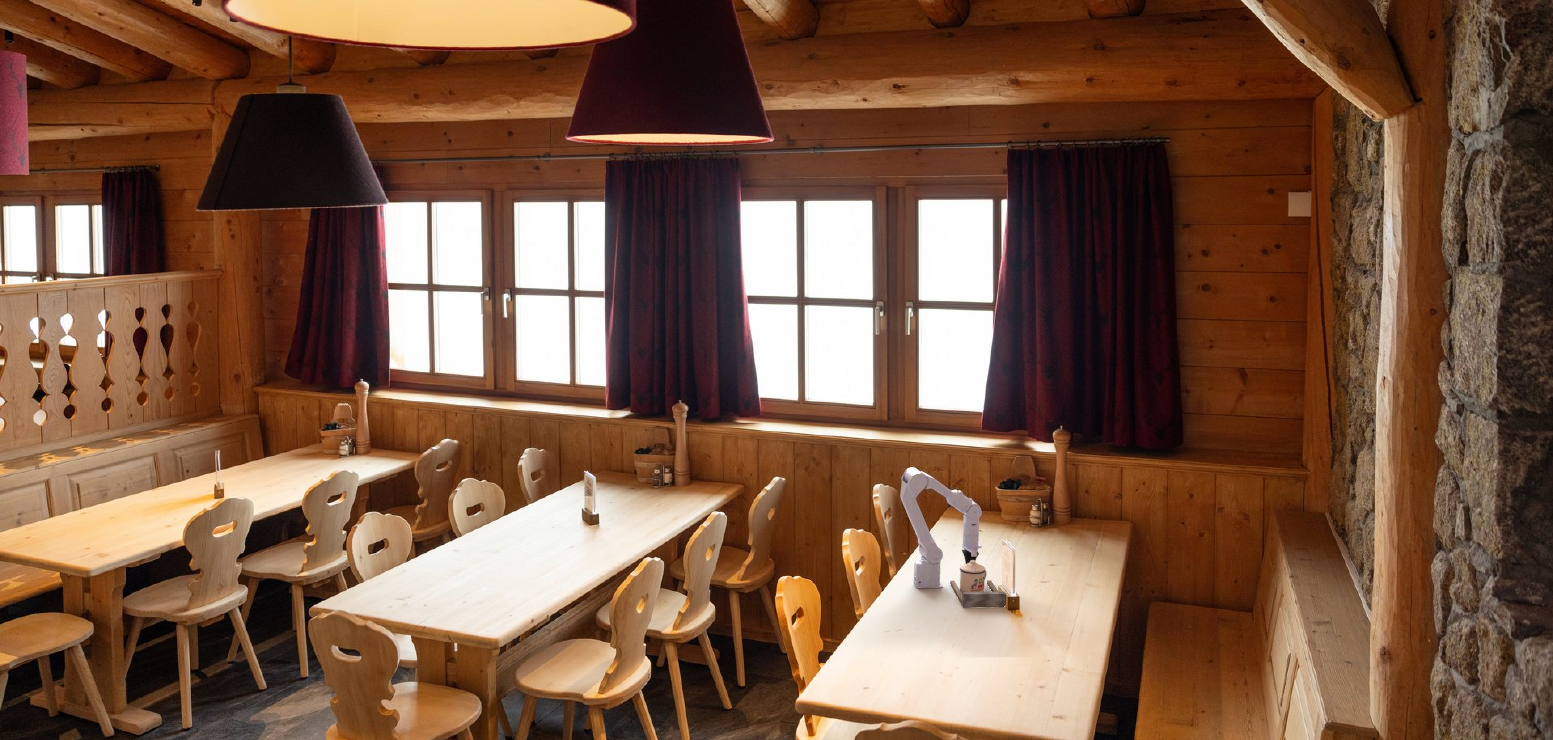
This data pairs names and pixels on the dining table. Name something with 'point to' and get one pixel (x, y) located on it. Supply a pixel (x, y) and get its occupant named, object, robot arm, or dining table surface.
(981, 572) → the teacup with lid
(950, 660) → the dining table surface
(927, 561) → the robot arm
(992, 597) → the guide track
